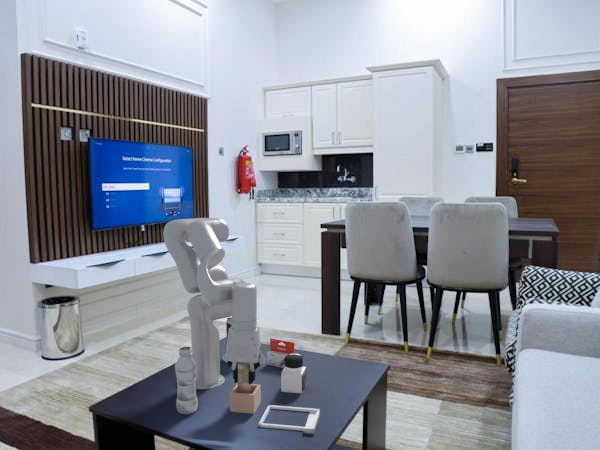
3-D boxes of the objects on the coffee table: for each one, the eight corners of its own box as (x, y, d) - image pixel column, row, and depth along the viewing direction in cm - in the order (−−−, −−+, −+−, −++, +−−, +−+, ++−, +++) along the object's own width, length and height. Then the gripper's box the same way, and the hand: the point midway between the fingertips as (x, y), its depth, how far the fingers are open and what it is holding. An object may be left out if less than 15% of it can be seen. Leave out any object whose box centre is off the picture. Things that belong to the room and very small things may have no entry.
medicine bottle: (302, 395, 159) (302, 360, 157) (281, 393, 160) (280, 358, 159) (306, 386, 166) (306, 352, 164) (286, 384, 167) (285, 351, 166)
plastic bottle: (187, 419, 143) (185, 353, 141) (171, 413, 146) (169, 349, 145) (202, 410, 148) (201, 347, 147) (186, 405, 152) (185, 343, 150)
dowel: (236, 403, 148) (235, 363, 147) (240, 397, 152) (239, 358, 150) (248, 405, 147) (248, 364, 146) (252, 399, 151) (252, 359, 150)
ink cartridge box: (291, 370, 180) (291, 344, 179) (266, 364, 186) (266, 339, 185) (295, 367, 182) (294, 342, 181) (270, 362, 188) (269, 338, 187)
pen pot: (230, 414, 146) (229, 393, 146) (237, 402, 154) (237, 383, 153) (254, 416, 145) (254, 395, 144) (260, 404, 152) (260, 384, 152)
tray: (258, 429, 137) (258, 424, 137) (268, 409, 149) (268, 404, 149) (314, 434, 134) (314, 429, 134) (320, 413, 146) (320, 409, 146)
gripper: (213, 326, 145) (214, 384, 147) (267, 329, 142) (267, 389, 144) (222, 318, 152) (222, 374, 154) (273, 322, 149) (273, 379, 151)
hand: (244, 381), depth 149 cm, fingers closed on dowel, 4 cm apart
